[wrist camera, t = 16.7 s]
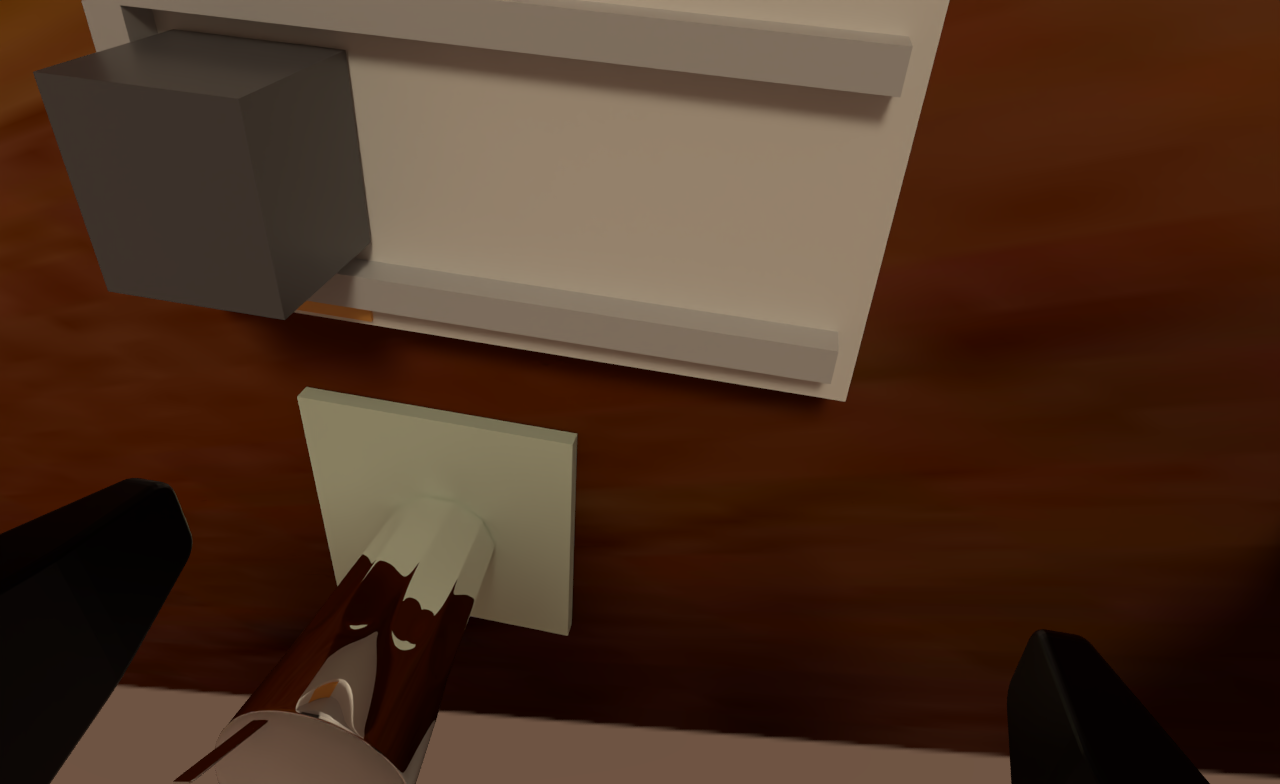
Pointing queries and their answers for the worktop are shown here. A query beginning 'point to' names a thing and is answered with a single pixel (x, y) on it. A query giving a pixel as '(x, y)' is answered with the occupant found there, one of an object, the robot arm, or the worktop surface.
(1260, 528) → the worktop surface
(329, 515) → the mat
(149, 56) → the switch tab
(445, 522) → the milkshake
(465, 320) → the switch panel
